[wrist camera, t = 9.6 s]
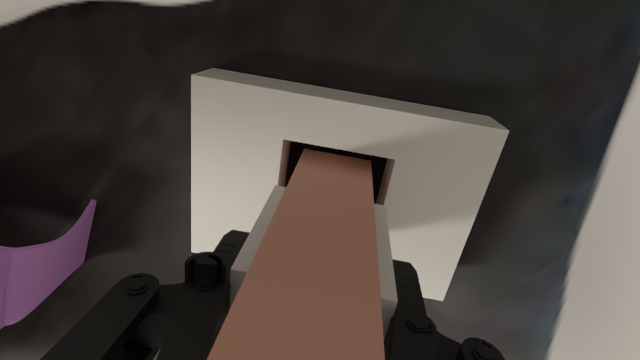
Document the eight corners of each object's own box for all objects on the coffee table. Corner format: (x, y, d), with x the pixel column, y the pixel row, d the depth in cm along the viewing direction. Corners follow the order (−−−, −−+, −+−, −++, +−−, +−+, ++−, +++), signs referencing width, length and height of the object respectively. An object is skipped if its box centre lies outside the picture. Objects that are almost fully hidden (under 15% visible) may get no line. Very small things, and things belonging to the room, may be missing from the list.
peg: (296, 207, 22) (175, 543, 8) (304, 148, 21) (171, 436, 6) (357, 218, 22) (350, 582, 8) (371, 160, 21) (393, 484, 6)
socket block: (209, 227, 25) (191, 252, 22) (213, 67, 20) (190, 74, 18) (433, 270, 24) (442, 301, 22) (489, 116, 20) (509, 130, 17)
